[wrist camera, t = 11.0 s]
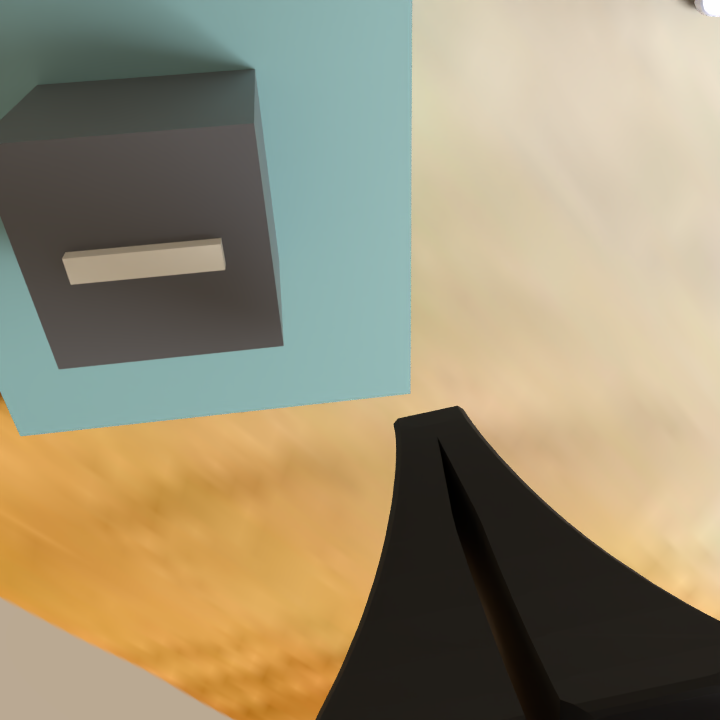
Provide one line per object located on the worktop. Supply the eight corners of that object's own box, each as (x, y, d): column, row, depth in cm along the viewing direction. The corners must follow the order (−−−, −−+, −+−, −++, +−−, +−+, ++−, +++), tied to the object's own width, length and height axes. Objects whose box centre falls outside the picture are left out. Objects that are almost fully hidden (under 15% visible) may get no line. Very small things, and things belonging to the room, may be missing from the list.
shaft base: (400, -211, 15) (445, -238, 11) (402, 368, 24) (428, 454, 21) (-219, -185, 14) (-385, -206, 10) (32, 407, 23) (-9, 504, 20)
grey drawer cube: (254, 68, 17) (254, 127, 13) (279, 258, 20) (284, 353, 16) (37, 84, 16) (-33, 150, 12) (96, 276, 19) (55, 377, 15)
